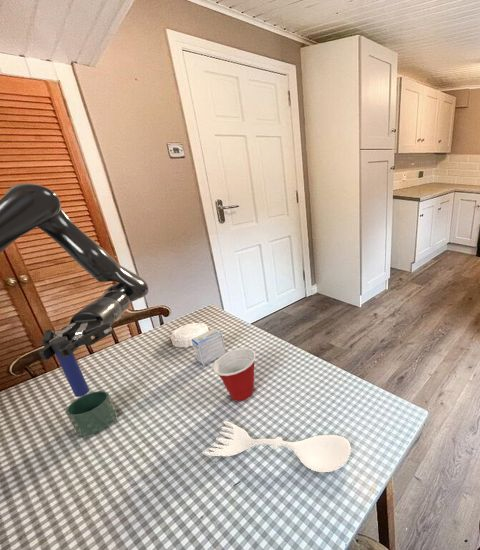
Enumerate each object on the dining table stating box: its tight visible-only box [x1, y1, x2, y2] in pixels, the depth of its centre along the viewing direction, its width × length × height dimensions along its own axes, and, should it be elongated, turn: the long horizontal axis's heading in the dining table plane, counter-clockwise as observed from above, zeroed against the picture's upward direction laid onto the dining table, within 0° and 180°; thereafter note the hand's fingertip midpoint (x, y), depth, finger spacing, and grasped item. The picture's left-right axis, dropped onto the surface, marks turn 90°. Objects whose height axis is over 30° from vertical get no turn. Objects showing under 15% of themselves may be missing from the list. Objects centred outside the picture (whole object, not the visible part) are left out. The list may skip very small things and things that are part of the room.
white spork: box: [201, 420, 352, 473], centre depth 68 cm, size 9×32×4 cm, turn 83°
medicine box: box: [192, 328, 227, 366], centre depth 99 cm, size 8×4×9 cm, turn 144°
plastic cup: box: [212, 347, 257, 402], centre depth 83 cm, size 11×11×12 cm
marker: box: [50, 336, 90, 398], centre depth 69 cm, size 3×3×15 cm
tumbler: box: [65, 390, 118, 437], centre depth 75 cm, size 8×8×7 cm
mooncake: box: [169, 322, 210, 349], centre depth 110 cm, size 12×12×4 cm
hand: (52, 355), depth 65 cm, fingers closed on marker, 3 cm apart
